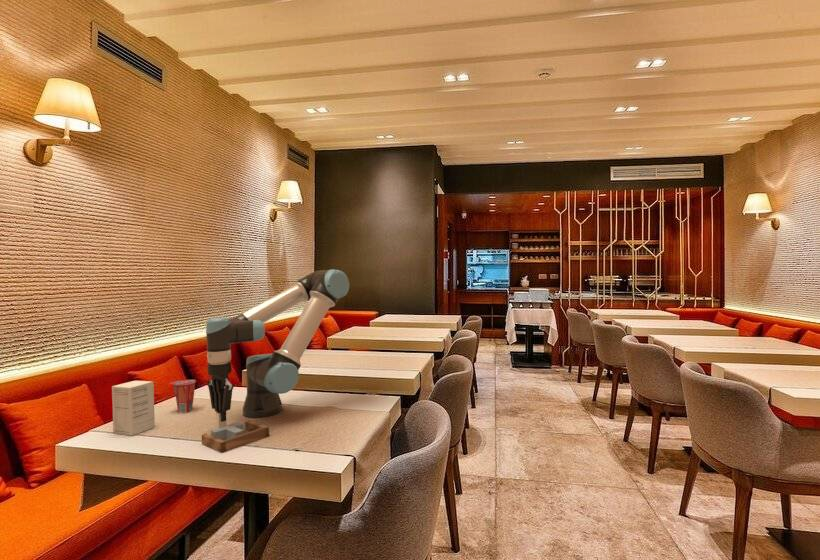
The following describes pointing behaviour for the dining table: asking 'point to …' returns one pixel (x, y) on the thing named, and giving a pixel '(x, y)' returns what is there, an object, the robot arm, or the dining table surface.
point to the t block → (228, 431)
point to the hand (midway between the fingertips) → (221, 429)
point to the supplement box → (133, 407)
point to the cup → (184, 394)
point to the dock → (237, 437)
